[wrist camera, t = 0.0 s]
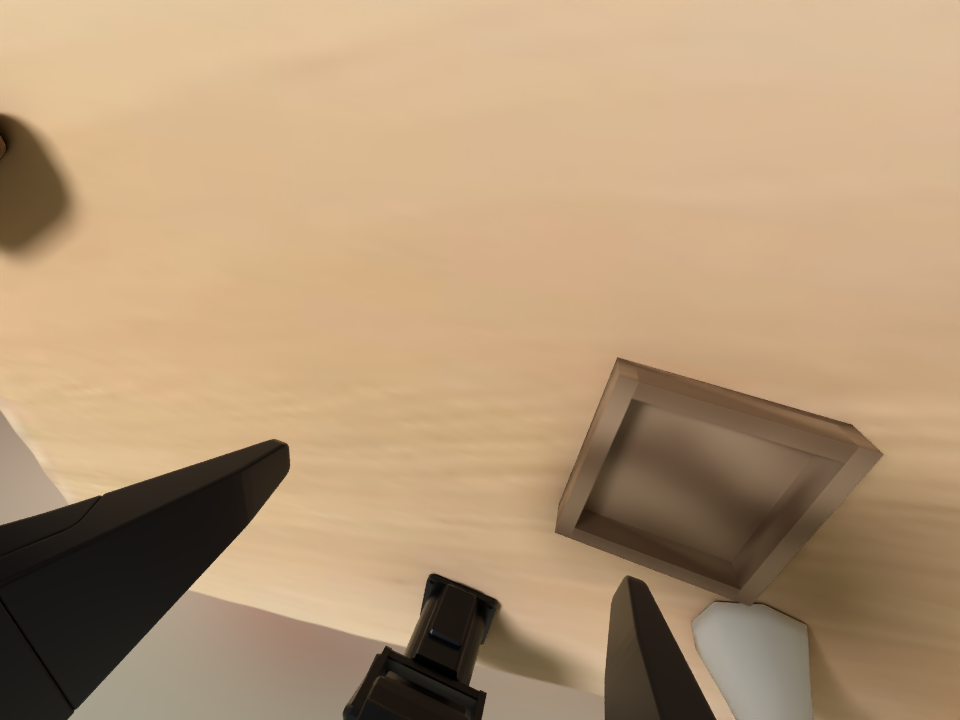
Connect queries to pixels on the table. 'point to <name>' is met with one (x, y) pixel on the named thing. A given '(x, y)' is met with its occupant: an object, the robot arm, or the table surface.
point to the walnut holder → (706, 479)
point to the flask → (756, 660)
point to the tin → (2, 147)
